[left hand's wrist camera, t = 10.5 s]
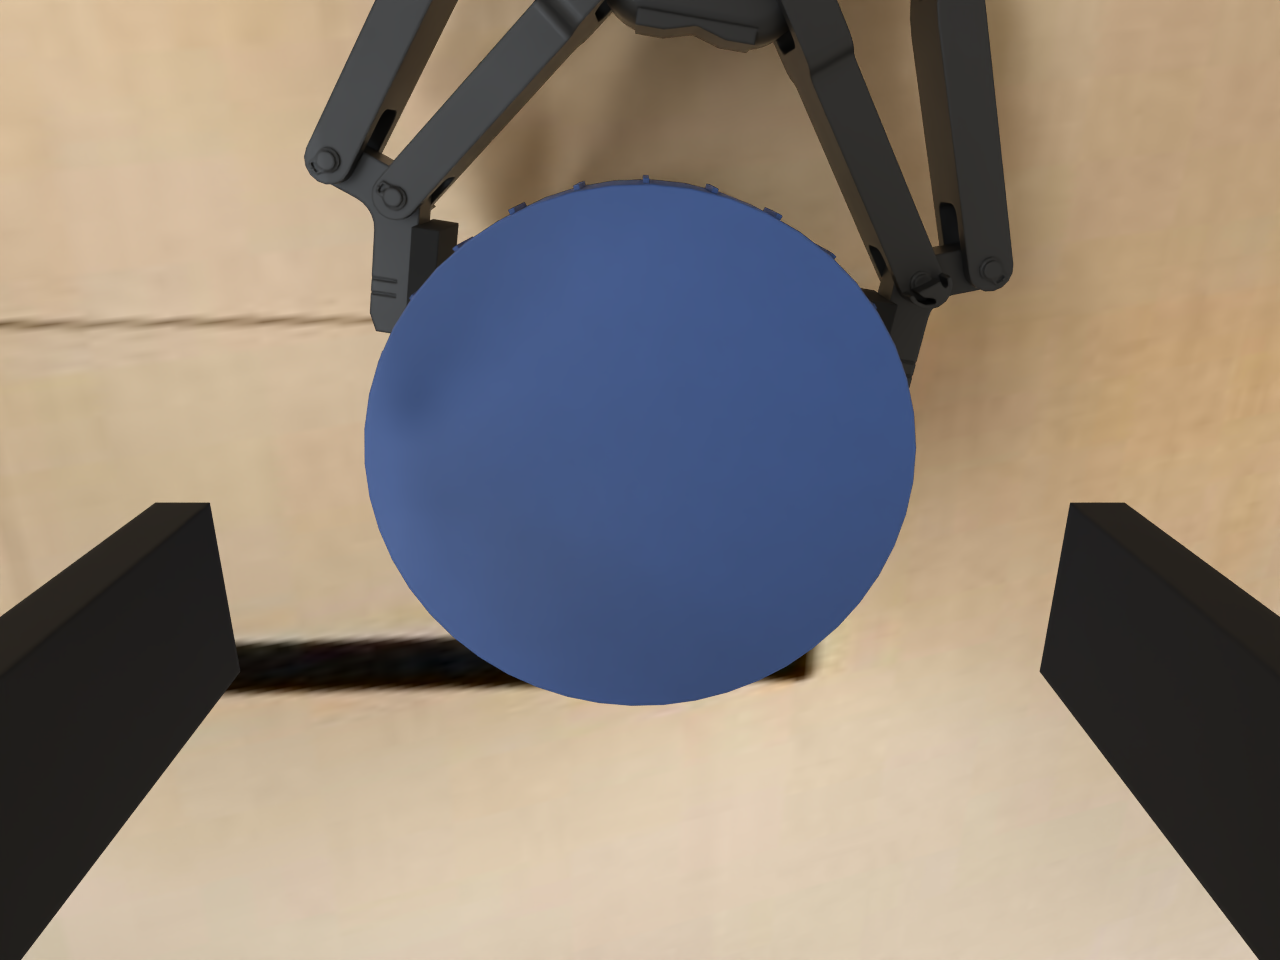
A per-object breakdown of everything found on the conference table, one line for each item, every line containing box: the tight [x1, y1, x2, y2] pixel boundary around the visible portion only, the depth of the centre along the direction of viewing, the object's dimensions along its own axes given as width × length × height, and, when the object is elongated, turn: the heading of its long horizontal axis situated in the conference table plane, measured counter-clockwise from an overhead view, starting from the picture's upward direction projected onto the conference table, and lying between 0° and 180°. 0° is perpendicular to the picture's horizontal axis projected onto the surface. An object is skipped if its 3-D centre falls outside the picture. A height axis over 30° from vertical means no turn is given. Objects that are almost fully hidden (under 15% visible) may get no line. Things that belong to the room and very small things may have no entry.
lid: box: [365, 175, 916, 706], centre depth 19 cm, size 11×11×2 cm
